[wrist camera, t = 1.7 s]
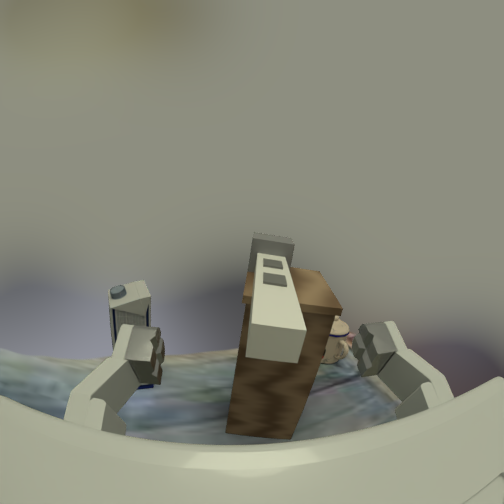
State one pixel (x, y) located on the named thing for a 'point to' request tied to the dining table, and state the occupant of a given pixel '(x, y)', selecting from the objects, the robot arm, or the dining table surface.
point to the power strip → (274, 302)
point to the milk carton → (129, 309)
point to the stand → (281, 365)
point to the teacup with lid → (336, 342)
